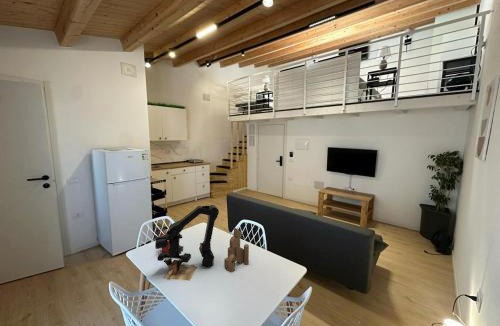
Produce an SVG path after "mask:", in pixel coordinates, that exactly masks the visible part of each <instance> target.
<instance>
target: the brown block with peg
mask: <svg viewBox="0 0 500 326" xmlns="http://www.w3.org/2000/svg"><path fill="white" fill-rule="evenodd" d="M177 262H178V259H172V263H171V264H170V265H169V267H168V271H169V273H168V276H169V278H170V275H176V274H177V273H178V270H177ZM179 270H180V269H179Z"/></svg>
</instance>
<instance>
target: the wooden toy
mask: <svg viewBox="0 0 500 326" xmlns="http://www.w3.org/2000/svg"><path fill="white" fill-rule="evenodd" d="M242 236H244V233H243V232H241V231H240V230H239V229H238V228H236V227H233V236H231V237H230V239H229V247H228V248H227V257H225V258H224V259H223V260H224V265H223V266H224V269H225V270H226V271H228V273H229V272H230V273H232V272H235V271H236V263H237V264H238V265H242V264H244V265H246V266H248V265H249V260H250V259H249V256H250V255H249V253H250V248H249V247H250V245H249V244H248V243H244V244H243V248H242V247H241V237H242Z"/></svg>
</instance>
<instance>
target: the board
mask: <svg viewBox="0 0 500 326" xmlns="http://www.w3.org/2000/svg"><path fill="white" fill-rule="evenodd" d="M197 269H198V264H195V263H184V262H182V263H181V266H180V270H179V271H178V273H177V274H176V275H170V278H169V276H168V273H169V270H168V271H167V273H165V275H164V276H163V278H162V279H165V280H166V279H167V280H177V281H178V280H180V281H191V279H192V278H193V276H194V274H195V272H196V271H197Z"/></svg>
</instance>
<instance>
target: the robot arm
mask: <svg viewBox="0 0 500 326" xmlns="http://www.w3.org/2000/svg"><path fill="white" fill-rule="evenodd" d="M219 211H220V210H219V208H218V207H217V206H216V205H215V204H211V205H197V206H196V207H195V208H194V209H192V210H191V211H190V212H189V213H187V215H185V216H183V218H181V219H179V220H177V221H175V222H173V223H171V224H170V225H169V226H168V229H167V231H166V233H164V234H165V236H162V235H161V236H159V235H158V236H155V242H154V243H155V245H154V248H155V250H158V249H162V248H166V247H167V245H168V240H169V249H168V251H169V255H168V252H160V253H159V254H158V255H157V261H160V262H163V263H165V264H166V265H167V267H168V268H169V265H170V264H171V263H172V262H173V260H178V262H177V270H178V271H179V269H180V266H181V263H185V264H188V263H189V262H190V260H191V258H192V254H191V253H187V252H185V253H184V254H182V253H183V252H184V246H183V245H180V241H179V239H183V234H181V232H182V231H183V229H184V227H186V226H187V225H188V224H190V223H191V222H192V221H193V220H195V219H196V218H197V217H199V216H200V215H205V216H207V222H206V226H205V227H206V228H205V233H204V238H203V241H202V242H200V243H199V248H198V250H199V252H200V255H201V257H202V259H201V262H202V263H201V265H202V267H205V268H212V267H213V266H214V263H215V255H214V253H213V251H212V248H211V245H212V244H211V242H212V236H213V230H214V226H215V222H216V220H217V218H218V216H219V215H220V214H219Z"/></svg>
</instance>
